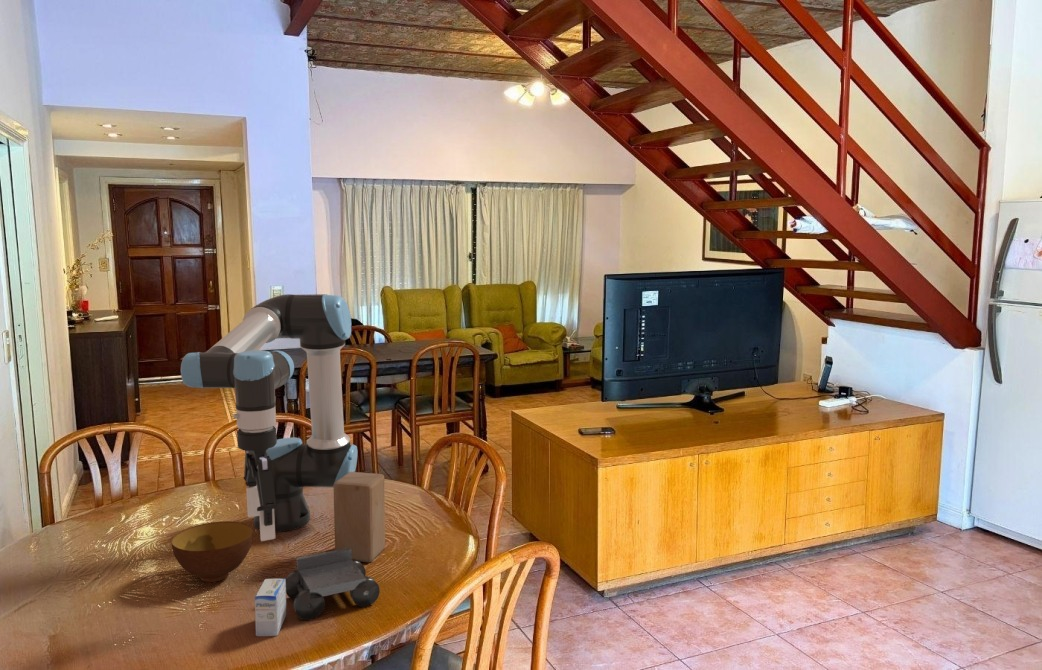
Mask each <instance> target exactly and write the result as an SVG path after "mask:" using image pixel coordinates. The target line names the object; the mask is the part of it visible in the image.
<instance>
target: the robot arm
mask: <svg viewBox="0 0 1042 670" xmlns="http://www.w3.org/2000/svg"><path fill="white" fill-rule="evenodd" d="M351 335H352V317H351V311H350V308H349V305H348V302H347V301H346V300H345V299H344V298H343V297H342V296H341V295H332V294H327V293H326V294H281V295H277V296H274V297H271V298H268V299H266V300H264V301H262V302H260V303H257V304H256V305H255V306H253V307H252V308H250V309H249V310H248V311H247V312H246V313H245V314H244V316H243V318H242V321H241V322H240V323H238V325H236V326H235V327H234V328H233V329H231V330H230V331H229V332H228V333H226V334H225V335H224V336H223V337H222V338H221V339H220V340H219V341H217V342H216V343H215V344H214V345H213V346H212V347H210V348H209V349H208V350H206V351H205V352H200V351H197V352H188V353H187V354H185V355H184V356H183V358H182V361H181V364H180V377H181V380H182V383H183V384H184V385H185V386H186V387H189V388H200V389H234V394H235V395H234V396H235V411H236V413H234V414H233V415H232V417H233V419H235V420H236V427H237V428H238V430H237V431H236V439H237V440H236V441H237V448H238V449H240V450H242V451H244V452H245V454H244V456H245V457H244V471H243V472H244V473H243V480H244V481H245V486H246V488H245V489H246V505H247V506H246V507H247V508H246V511H247V517H248V518H253V527H254V528H255V529H257V530H259V532H260V533H259V534H260V537H259V538H260V542H265V541H270V540H274V539H276V533H279V532H280V533H281V532H286V531H288V532H289V531H293V530H297V529H299V528H300V529H301V528H302V527H304V526H306V525H307V524H309V523H310V521H311V510H310V508H309V505H308V502H307V499H306V497H305V495H304V488H332V489H334V483H335V482H336V481H338V480H339V479H340V478H342V477H343V476H345V475H346V474H347V473H349V472H356V468H357V462H358V447H357V445H355V444H353V443H352V444H351V438H350V436H349V435H348V434H346V432H345V428H344V427H345V426H344V425H345V424H344V406H343V403H344V402H343V390H342V389H343V388H342V369H341V352H340V351H341V350H342V348H344V347H345V345H346V340H348V339H350V337H351ZM276 339H291V340H292V339H297V340H299V345H300V348H301V349H302V350H303V351H305V353H306V361H307V362H306V364H307V376H308V380H307V381H308V393H309V395H308V396H309V407H310V408H309V409H310V423H311V436H310V437H309V438H308V439H307V440H306V444H303V440H302V439H301V438H299V437H284V438H278V439H277V427H275V426H276V425H277V413H276V412H277V411H276V392H275V390H276V389H279V388H280V387H282V386H283V385H285V384H287V383H288V381H289V380H290V379H291V378H292V377H293V374H294V371H295V364H294V361H293V359H292V357H291V356H290V355H289V354H288V353H286V352H285V351H282V350H276V349H275V350H270V351H268V350H261V348H262V347H263V346H264V345H265V344H268V343H271V342H273V341H275V340H276Z"/></svg>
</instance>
